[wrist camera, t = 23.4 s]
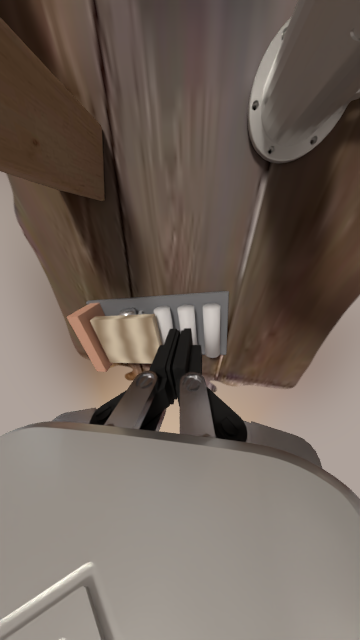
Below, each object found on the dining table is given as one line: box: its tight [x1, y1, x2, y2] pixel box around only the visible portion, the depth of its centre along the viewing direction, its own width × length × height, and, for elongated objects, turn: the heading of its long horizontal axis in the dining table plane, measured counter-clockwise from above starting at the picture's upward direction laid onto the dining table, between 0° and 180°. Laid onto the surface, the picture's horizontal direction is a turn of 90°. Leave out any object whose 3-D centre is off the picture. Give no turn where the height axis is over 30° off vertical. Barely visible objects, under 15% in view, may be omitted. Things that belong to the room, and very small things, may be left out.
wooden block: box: [0, 18, 105, 201], centre depth 18 cm, size 10×10×20 cm
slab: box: [90, 314, 162, 363], centre depth 38 cm, size 16×14×2 cm
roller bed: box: [67, 291, 229, 372], centre depth 38 cm, size 38×19×9 cm, turn 97°
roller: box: [119, 308, 137, 315], centre depth 41 cm, size 4×14×4 cm, turn 7°
